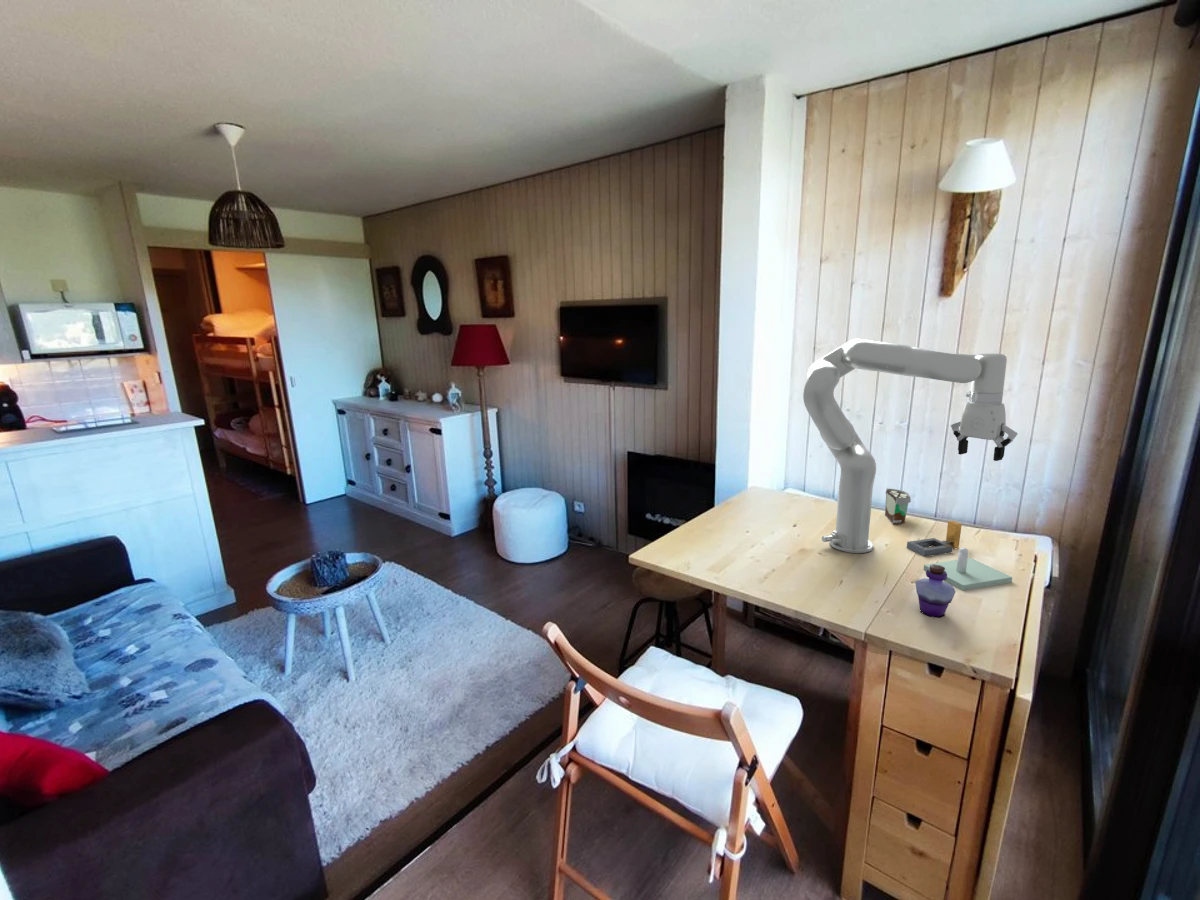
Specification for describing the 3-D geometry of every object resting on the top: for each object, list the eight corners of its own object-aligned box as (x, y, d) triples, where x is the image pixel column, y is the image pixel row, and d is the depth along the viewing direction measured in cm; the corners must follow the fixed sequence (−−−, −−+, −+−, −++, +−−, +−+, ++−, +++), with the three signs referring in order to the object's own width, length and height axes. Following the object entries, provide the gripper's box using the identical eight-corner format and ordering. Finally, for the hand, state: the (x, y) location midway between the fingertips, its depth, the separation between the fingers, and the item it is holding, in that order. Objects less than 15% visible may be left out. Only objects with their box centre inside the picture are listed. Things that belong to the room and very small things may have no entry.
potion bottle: (937, 602, 138) (943, 558, 136) (961, 620, 130) (967, 573, 127) (904, 603, 138) (909, 559, 135) (925, 622, 130) (930, 575, 127)
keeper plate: (962, 590, 144) (966, 560, 142) (923, 569, 156) (926, 541, 154) (1011, 582, 147) (1016, 552, 145) (969, 562, 160) (973, 534, 158)
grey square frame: (924, 556, 164) (927, 531, 163) (906, 547, 171) (909, 523, 169) (964, 550, 168) (967, 526, 166) (945, 542, 174) (948, 518, 172)
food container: (913, 527, 187) (916, 499, 185) (894, 526, 189) (896, 498, 186) (901, 514, 199) (904, 488, 197) (883, 514, 200) (886, 487, 198)
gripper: (947, 396, 160) (941, 453, 164) (1012, 402, 145) (1004, 465, 149) (962, 394, 164) (957, 449, 167) (1028, 399, 148) (1020, 460, 152)
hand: (979, 456), depth 158 cm, fingers open, 9 cm apart
